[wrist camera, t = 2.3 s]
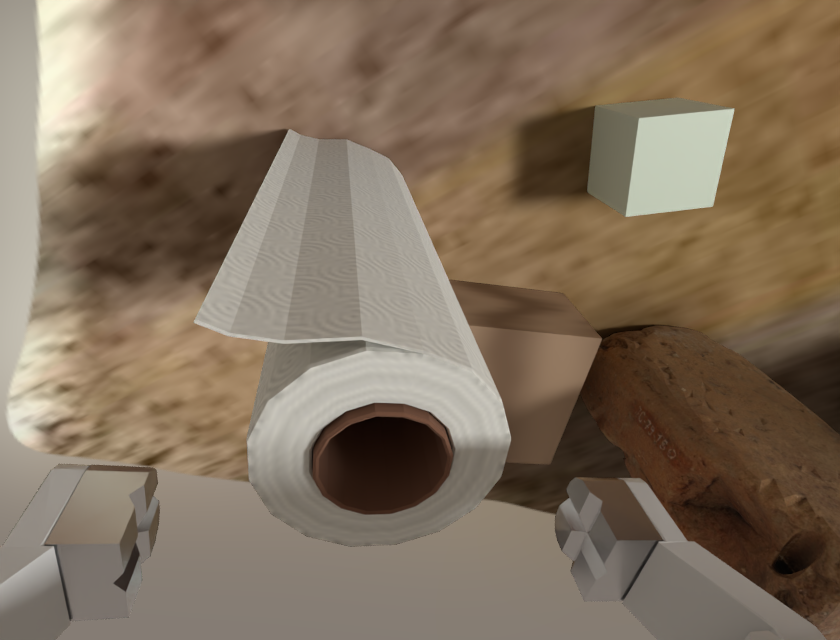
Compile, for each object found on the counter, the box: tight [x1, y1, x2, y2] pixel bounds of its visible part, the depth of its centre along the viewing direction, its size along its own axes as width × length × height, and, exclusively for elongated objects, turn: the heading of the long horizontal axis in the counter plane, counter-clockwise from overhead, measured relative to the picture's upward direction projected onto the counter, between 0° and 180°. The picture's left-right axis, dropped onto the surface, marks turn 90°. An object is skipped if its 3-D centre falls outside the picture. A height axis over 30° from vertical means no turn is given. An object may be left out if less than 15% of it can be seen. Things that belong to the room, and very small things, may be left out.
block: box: [580, 325, 840, 640], centre depth 30 cm, size 11×8×20 cm
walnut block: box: [449, 280, 602, 464], centre depth 34 cm, size 10×10×6 cm
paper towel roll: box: [193, 129, 511, 547], centre depth 20 cm, size 7×6×21 cm
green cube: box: [587, 98, 734, 217], centre depth 29 cm, size 5×5×5 cm
